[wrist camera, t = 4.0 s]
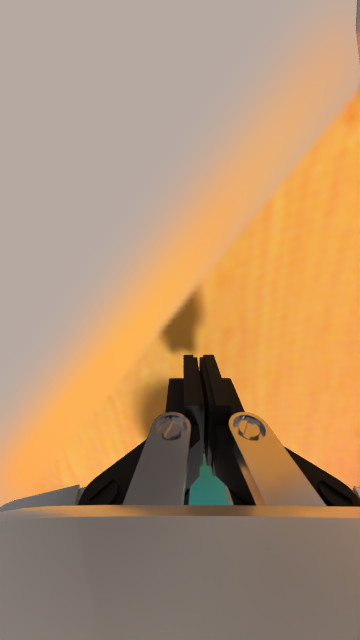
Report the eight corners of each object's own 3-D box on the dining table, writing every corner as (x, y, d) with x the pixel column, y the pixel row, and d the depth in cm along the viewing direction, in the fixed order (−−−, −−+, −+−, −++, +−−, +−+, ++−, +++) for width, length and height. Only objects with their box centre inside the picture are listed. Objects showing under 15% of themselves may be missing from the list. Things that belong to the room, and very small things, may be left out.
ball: (160, 433, 14) (146, 537, 9) (234, 434, 14) (266, 539, 8) (163, 485, 15) (152, 600, 10) (229, 486, 15) (253, 603, 10)
